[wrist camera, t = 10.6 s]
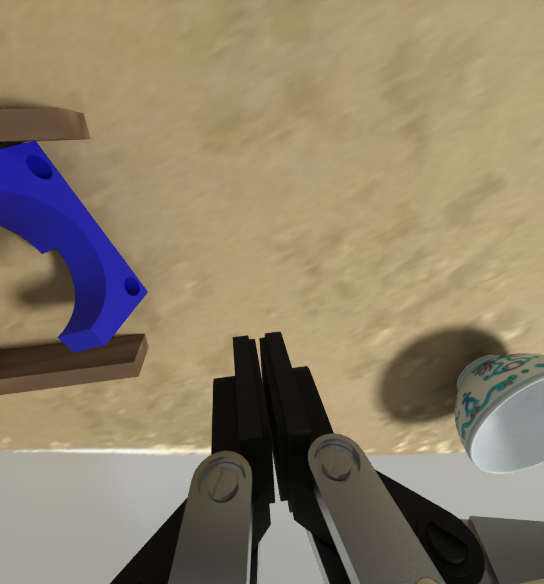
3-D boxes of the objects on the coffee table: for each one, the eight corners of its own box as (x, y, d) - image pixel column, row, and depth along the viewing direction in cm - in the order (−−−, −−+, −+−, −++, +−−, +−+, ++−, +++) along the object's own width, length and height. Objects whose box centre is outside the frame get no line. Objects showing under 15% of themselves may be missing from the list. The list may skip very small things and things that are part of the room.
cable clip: (-10, 167, 20) (-114, 196, 15) (35, 140, 19) (-65, 164, 14) (107, 303, 26) (58, 356, 21) (147, 291, 25) (105, 344, 20)
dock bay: (-161, 111, 18) (-255, 103, 14) (80, 104, 20) (50, 96, 16) (-7, 371, 27) (-41, 405, 23) (149, 351, 29) (140, 381, 25)
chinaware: (415, 426, 40) (455, 484, 34) (438, 333, 34) (494, 383, 27) (515, 408, 42) (572, 460, 35) (556, 317, 35) (637, 359, 29)
